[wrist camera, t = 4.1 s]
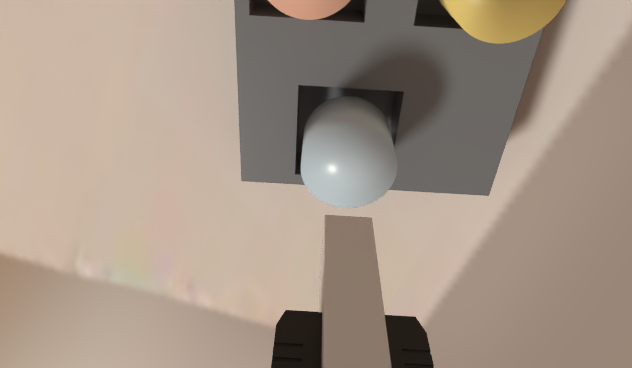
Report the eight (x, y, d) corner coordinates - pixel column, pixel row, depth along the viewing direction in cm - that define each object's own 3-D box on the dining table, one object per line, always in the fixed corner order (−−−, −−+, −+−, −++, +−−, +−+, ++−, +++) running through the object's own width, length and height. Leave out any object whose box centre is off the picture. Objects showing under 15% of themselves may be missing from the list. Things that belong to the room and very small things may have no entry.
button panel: (243, -155, 22) (228, -161, 18) (556, -134, 22) (597, -135, 19) (250, 148, 31) (241, 181, 28) (471, 161, 31) (488, 195, 28)
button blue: (305, 93, 24) (302, 122, 21) (395, 98, 24) (404, 128, 22) (301, 170, 27) (298, 205, 24) (383, 174, 27) (389, 210, 24)
